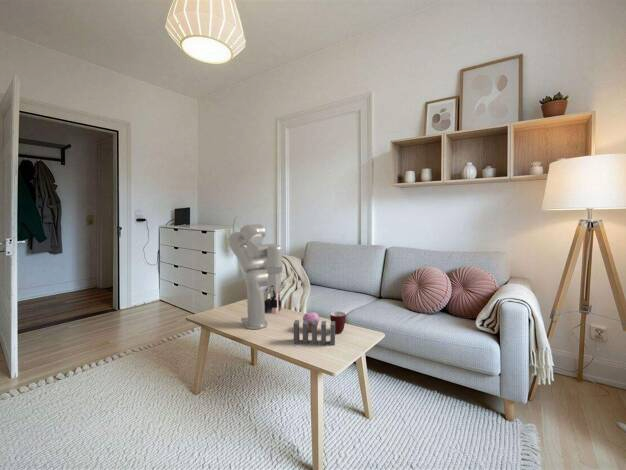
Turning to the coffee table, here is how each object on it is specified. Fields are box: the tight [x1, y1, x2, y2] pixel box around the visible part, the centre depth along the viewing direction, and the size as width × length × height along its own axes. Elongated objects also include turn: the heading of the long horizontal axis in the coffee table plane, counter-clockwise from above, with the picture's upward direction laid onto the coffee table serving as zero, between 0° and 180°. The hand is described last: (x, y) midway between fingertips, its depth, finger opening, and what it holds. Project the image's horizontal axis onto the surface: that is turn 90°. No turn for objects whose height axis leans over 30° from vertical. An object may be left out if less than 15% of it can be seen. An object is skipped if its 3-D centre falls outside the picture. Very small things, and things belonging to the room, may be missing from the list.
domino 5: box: [329, 320, 336, 346], centre depth 150 cm, size 2×5×10 cm, turn 173°
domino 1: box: [292, 319, 300, 345], centre depth 152 cm, size 2×5×10 cm, turn 173°
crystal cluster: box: [264, 297, 282, 314], centre depth 200 cm, size 13×14×10 cm
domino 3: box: [311, 321, 318, 346], centre depth 151 cm, size 2×5×10 cm, turn 173°
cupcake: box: [302, 311, 320, 333], centre depth 166 cm, size 9×9×10 cm
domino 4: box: [320, 320, 327, 346], centre depth 150 cm, size 2×5×10 cm, turn 173°
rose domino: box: [271, 292, 280, 315], centre depth 154 cm, size 2×5×10 cm, turn 173°
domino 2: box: [302, 320, 309, 345], centre depth 151 cm, size 2×5×10 cm, turn 173°
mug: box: [329, 311, 347, 335], centre depth 164 cm, size 11×8×10 cm
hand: (275, 305), depth 154 cm, fingers closed on rose domino, 4 cm apart
